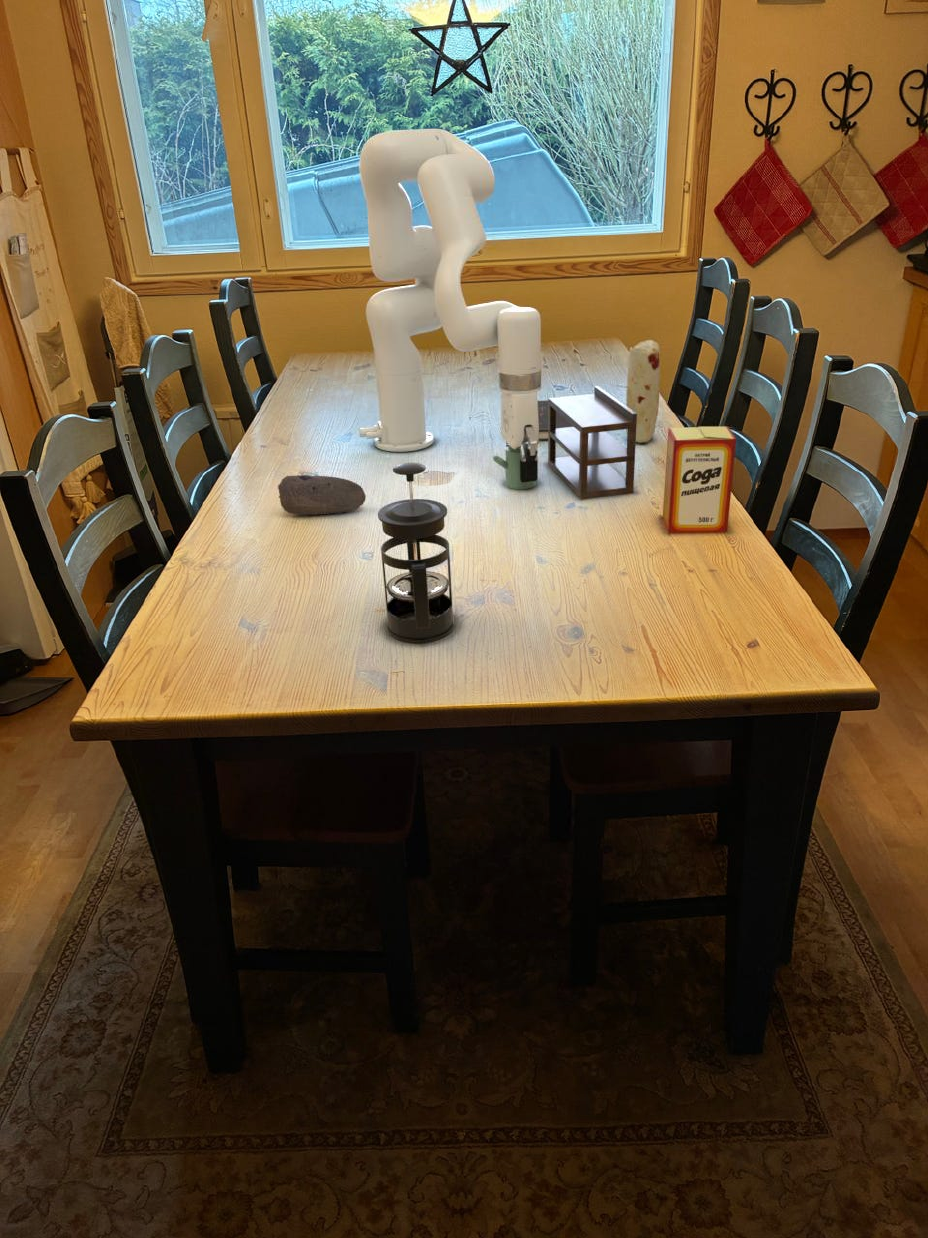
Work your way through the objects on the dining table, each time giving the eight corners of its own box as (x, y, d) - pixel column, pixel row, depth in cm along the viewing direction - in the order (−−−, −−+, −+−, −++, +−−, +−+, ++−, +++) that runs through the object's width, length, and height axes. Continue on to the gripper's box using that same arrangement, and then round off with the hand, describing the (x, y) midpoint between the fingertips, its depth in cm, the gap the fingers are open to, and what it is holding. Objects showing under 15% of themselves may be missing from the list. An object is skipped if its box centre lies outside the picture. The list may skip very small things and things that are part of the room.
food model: (658, 446, 192) (664, 347, 183) (625, 446, 193) (629, 347, 184) (655, 431, 201) (661, 336, 191) (624, 431, 202) (628, 336, 192)
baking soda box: (668, 533, 153) (674, 437, 146) (662, 517, 159) (668, 425, 151) (727, 532, 153) (736, 436, 145) (719, 516, 158) (728, 424, 151)
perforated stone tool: (368, 506, 169) (365, 469, 166) (365, 517, 165) (361, 479, 161) (286, 508, 170) (281, 471, 167) (280, 519, 165) (275, 482, 162)
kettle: (497, 492, 173) (496, 447, 169) (490, 482, 178) (489, 438, 174) (539, 487, 174) (539, 442, 170) (531, 477, 179) (531, 433, 175)
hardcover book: (524, 441, 199) (524, 430, 198) (520, 410, 219) (520, 401, 218) (600, 438, 198) (600, 428, 197) (589, 408, 219) (589, 398, 217)
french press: (384, 611, 133) (370, 455, 122) (450, 605, 134) (442, 449, 123) (388, 652, 123) (373, 486, 112) (460, 645, 124) (451, 479, 113)
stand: (580, 499, 168) (582, 419, 161) (548, 464, 185) (548, 390, 178) (633, 492, 170) (637, 413, 163) (596, 458, 187) (598, 385, 180)
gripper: (488, 372, 174) (491, 460, 182) (512, 394, 159) (514, 490, 167) (527, 368, 175) (528, 456, 183) (554, 390, 160) (554, 485, 168)
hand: (521, 472), depth 175 cm, fingers open, 9 cm apart
